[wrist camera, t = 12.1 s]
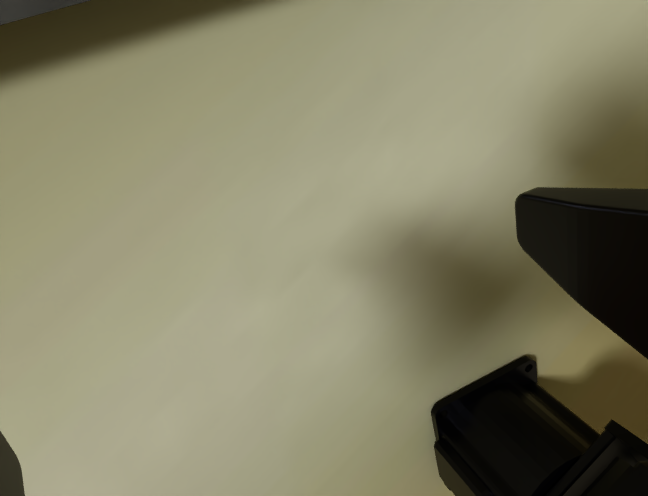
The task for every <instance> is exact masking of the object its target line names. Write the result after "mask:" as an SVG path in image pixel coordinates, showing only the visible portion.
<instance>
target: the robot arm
mask: <svg viewBox="0 0 648 496" xmlns="http://www.w3.org/2000/svg"><path fill="white" fill-rule="evenodd" d="M515 214H516V230H517V239H518V242H519V244H520V246H521V247H522V249H523V250H524V251H525V252H526V253H527V254H528V255H529V256H530V257H531V258H532V259H533V260H534V261H535V262H536V263H537V264H538V265H539V266H540V267H541V268H542V269H543V270H544V271H545V272H546V273H547V274H548V275H549V276H550V277H551V278H552V279H553V280H555V281H556V282H557V283H558V284H559V285H560V286H561V287H562V288H563V289H564V290H565V291H566V292H567V293H568V294H569V295H570V296H571V297H572V298H573V299H574V300H575V301H576V302H577V303H579V304H580V305H581V306H582V307H583V308H584V309H586V310H587V311H588V312H589V313H591V314H592V315H593V316H594V317H596V318H597V319H598V320H599V321H601V322H602V323H603V324H604V325H606V326H607V327H608V328H609V329H611V330H612V331H613V332H614V333H616V334H617V335H618V336H619V337H621V338H622V339H623V340H624V341H626V342H627V343H628V344H629V345H631V346H632V347H633V348H634V349H636V350H637V351H638V352H639V353H641V354H642V355H643V356H644V357H646V358H647V359H648V189H617V188H549V187H538V188H534V189H532V190H529V191H527V192H524V193H522V194H520V195H519V196H518V197H517V198H516V201H515ZM431 416H432V421H433V427H434V432H435V437H436V441H435V444H434V450H435V455H436V460H437V466H438V471H439V476H440V477H441V479H442V480H443V481H444V484H445V485H446V486H447V488H448V489H449V490H451V491H452V492H453V493H454V495H455V496H648V444H647V443H645V442H644V441H642V440H641V439H640V438H638V437H637V436H635V435H634V434H632V433H631V432H629V431H628V430H627V429H625V428H624V427H622V426H621V425H619V424H618V423H616V422H615V421H614V420H611V421H610V422H609V423H608V424H607V425H606V426H605V427H604V428H605V430H604V431H603V433H602V434H601V435H600V434H599V433H597V432H596V431H595V430H594V429H592V428H591V427H590V426H589V425H588V424H586V423H585V422H584V421H583V420H581V419H580V418H579V417H578V416H576V415H575V414H574V413H573V412H572V411H570V410H569V409H568V408H567V407H565V406H564V405H563V404H562V403H560V402H559V401H558V400H557V399H555V398H554V397H553V396H552V395H551V394H549V393H548V392H547V391H546V390H544V389H543V388H542V387H541V386H539V385H538V384H537V368H536V362H535V361H534V360H533V359H531V358H530V357H529V356H525V357H523V358H521V359H519V360H517V361H515V362H513V363H511V364H510V365H508V366H506V367H504V368H502V369H500V370H498V371H496V372H494V373H493V374H491V375H489V376H487V377H485V378H483V379H481V380H479V381H478V382H476V383H474V384H472V385H470V386H468V387H466V388H464V389H463V390H461V391H459V392H457V393H455V394H453V395H451V396H449V397H447V398H446V399H444V400H442V401H440V402H438V403H437V404H435V405H434V406H433V408H432V410H431ZM0 496H25V494H24V486H23V478H22V470H21V466H20V463H19V460H18V458H17V456H16V454H15V453H14V451H13V450H12V448H11V447H10V445H9V443H8V442H7V440H6V439H5V437H4V436H3V434H2V433H1V431H0Z"/></svg>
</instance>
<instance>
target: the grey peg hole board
mask: <svg viewBox="0 0 648 496" xmlns="http://www.w3.org/2000/svg"><path fill="white" fill-rule="evenodd" d="M86 1H89V0H0V25H2V24H6V23H9V22H13V21H17V20H20V19H24V18H28V17H31V16H35V15H39V14H42V13H46V12H49V11H53V10H57V9H60V8H64V7H68V6H71V5H75V4H78V3H82V2H86Z"/></svg>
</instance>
